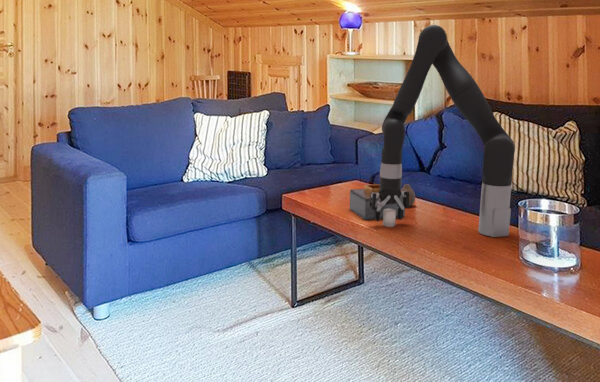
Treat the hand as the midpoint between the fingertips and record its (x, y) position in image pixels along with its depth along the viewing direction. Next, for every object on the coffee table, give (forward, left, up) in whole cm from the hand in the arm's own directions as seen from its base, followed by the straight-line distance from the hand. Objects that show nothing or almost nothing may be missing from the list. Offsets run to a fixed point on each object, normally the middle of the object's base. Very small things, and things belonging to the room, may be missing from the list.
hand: (388, 220), depth 191 cm
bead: (0, 0, -2) cm, 2 cm away
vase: (+23, -18, -2) cm, 29 cm away
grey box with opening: (+17, -2, -2) cm, 18 cm away
